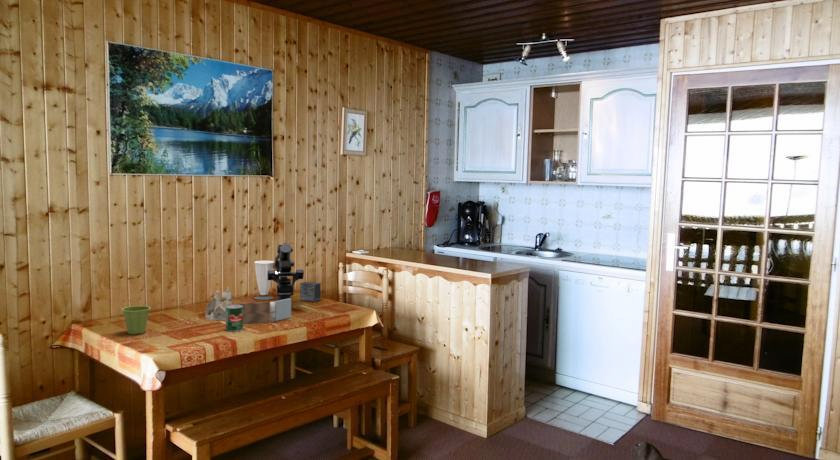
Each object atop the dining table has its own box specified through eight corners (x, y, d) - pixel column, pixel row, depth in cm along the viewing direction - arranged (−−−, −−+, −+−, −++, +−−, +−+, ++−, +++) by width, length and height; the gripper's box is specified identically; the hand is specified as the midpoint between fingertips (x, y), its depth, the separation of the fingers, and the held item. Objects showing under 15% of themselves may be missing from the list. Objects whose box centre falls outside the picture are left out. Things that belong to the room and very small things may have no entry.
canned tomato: (233, 332, 275) (233, 308, 274) (221, 329, 279) (221, 306, 278) (246, 328, 281) (246, 305, 280) (235, 326, 286) (235, 303, 285)
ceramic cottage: (212, 312, 313) (212, 284, 311) (241, 315, 310) (241, 287, 308) (195, 321, 298) (195, 291, 296) (225, 324, 295) (225, 295, 293)
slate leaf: (272, 322, 293) (272, 302, 293) (269, 321, 295) (268, 302, 294) (292, 317, 304) (292, 298, 303) (288, 316, 306) (288, 298, 305)
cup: (250, 299, 348) (250, 262, 346) (258, 295, 359) (259, 260, 358) (268, 300, 346) (269, 263, 344) (276, 296, 357) (277, 261, 356)
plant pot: (149, 335, 267) (148, 310, 266) (119, 336, 264) (119, 311, 263) (152, 328, 279) (152, 305, 278) (124, 330, 275) (124, 306, 274)
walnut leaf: (274, 321, 297) (274, 301, 296) (275, 322, 294) (275, 302, 293) (239, 323, 292) (239, 302, 291) (239, 324, 290) (239, 303, 289)
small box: (321, 300, 349) (321, 282, 348) (314, 302, 343) (314, 284, 342) (306, 298, 353) (306, 281, 353) (299, 300, 348) (299, 282, 347)
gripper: (267, 255, 315) (268, 279, 305) (303, 254, 320) (305, 278, 311) (267, 267, 323) (267, 291, 314) (302, 266, 328) (303, 290, 319)
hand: (286, 287), depth 314 cm, fingers open, 6 cm apart
